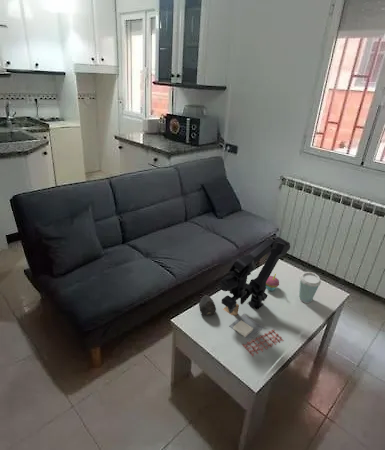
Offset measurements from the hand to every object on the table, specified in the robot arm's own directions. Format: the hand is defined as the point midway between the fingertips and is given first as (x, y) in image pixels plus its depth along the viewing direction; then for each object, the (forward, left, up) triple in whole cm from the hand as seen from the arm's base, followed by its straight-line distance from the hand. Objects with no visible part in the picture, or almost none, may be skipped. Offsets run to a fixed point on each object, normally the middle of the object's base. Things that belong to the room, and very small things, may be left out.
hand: (236, 308), depth 153 cm
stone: (+9, -11, -4) cm, 15 cm away
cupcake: (-32, +1, -4) cm, 32 cm away
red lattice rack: (+6, +20, -5) cm, 21 cm away
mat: (+3, +9, -4) cm, 10 cm away
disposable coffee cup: (-38, +19, -4) cm, 43 cm away
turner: (0, -3, -4) cm, 5 cm away
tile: (+3, +9, -3) cm, 10 cm away
